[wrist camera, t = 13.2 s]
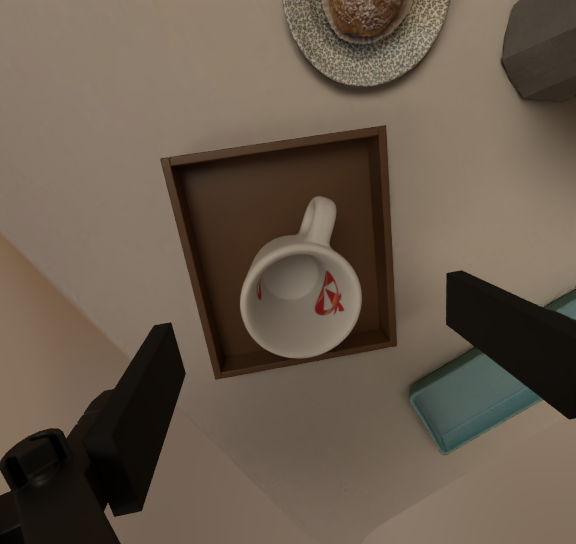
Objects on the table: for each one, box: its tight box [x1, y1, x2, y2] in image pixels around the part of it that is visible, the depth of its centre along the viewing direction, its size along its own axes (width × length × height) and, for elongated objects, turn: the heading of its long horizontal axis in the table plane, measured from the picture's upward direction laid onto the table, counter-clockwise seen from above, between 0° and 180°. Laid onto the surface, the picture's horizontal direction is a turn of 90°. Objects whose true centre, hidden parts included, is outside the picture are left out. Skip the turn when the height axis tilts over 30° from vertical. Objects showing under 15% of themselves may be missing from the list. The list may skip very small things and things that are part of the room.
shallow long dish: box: [409, 289, 576, 455], centre depth 33 cm, size 26×9×2 cm, turn 121°
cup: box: [240, 196, 362, 358], centre depth 24 cm, size 11×8×8 cm
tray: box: [160, 125, 397, 380], centre depth 27 cm, size 16×18×3 cm
